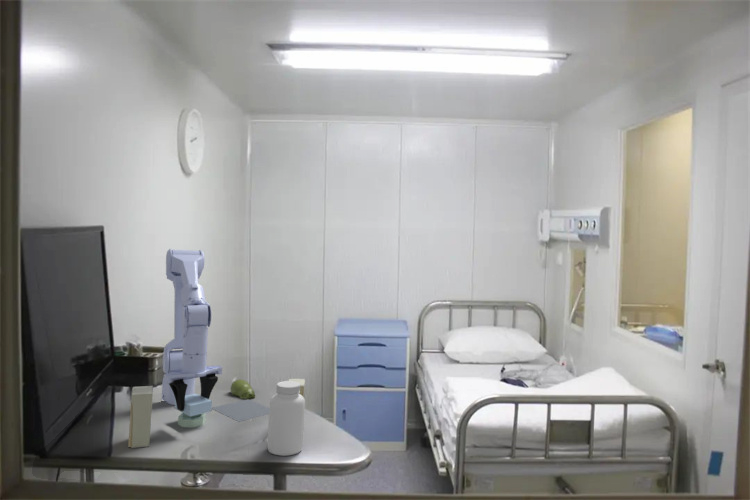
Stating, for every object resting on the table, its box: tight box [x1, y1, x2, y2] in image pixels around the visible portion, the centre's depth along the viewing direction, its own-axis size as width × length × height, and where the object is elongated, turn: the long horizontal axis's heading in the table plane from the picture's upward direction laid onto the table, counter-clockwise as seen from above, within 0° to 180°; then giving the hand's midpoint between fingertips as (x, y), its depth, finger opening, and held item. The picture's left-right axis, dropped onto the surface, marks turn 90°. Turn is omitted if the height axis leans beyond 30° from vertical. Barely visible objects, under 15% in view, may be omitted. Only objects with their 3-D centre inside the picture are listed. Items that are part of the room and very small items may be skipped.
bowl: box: [177, 412, 207, 428], centre depth 121 cm, size 6×6×3 cm
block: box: [174, 392, 213, 416], centre depth 121 cm, size 8×6×3 cm
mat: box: [212, 399, 270, 423], centre depth 132 cm, size 14×12×1 cm
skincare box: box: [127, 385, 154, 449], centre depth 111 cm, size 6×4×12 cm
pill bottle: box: [267, 380, 306, 457], centre depth 111 cm, size 8×8×15 cm
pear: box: [230, 379, 256, 400], centre depth 146 cm, size 6×5×10 cm
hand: (192, 407), depth 121 cm, fingers closed on block, 6 cm apart
